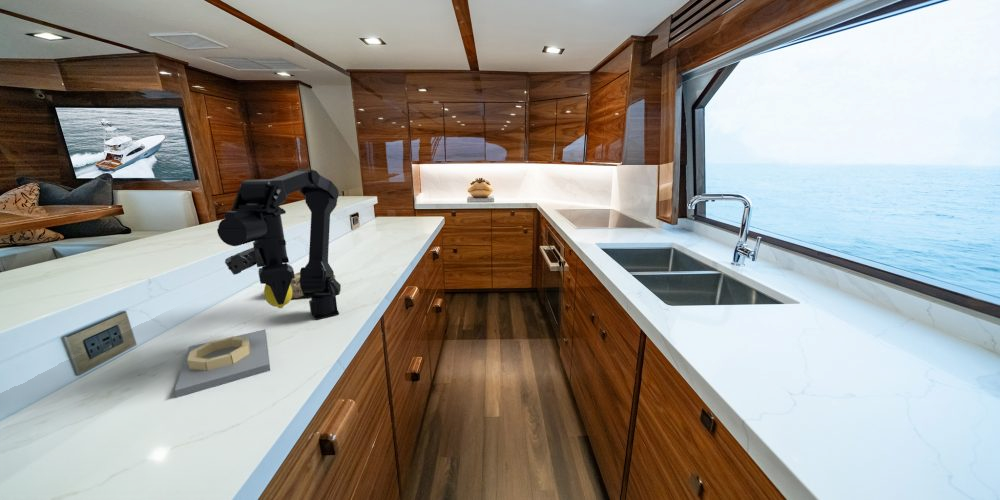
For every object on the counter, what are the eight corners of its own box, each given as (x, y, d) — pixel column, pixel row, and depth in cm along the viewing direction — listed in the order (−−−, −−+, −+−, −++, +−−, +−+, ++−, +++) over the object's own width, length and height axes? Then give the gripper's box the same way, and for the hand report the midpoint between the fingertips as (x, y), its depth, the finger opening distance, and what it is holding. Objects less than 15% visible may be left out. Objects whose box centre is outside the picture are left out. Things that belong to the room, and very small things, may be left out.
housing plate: (266, 334, 88) (264, 322, 88) (270, 370, 73) (267, 355, 72) (190, 352, 80) (187, 339, 79) (176, 397, 64) (172, 381, 63)
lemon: (281, 313, 77) (276, 281, 75) (261, 311, 78) (255, 279, 76) (299, 304, 83) (295, 273, 81) (280, 302, 84) (275, 272, 82)
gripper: (225, 234, 79) (237, 296, 82) (221, 248, 64) (236, 323, 68) (281, 229, 85) (290, 286, 89) (289, 241, 71) (299, 309, 74)
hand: (279, 300), depth 80 cm, fingers closed on lemon, 5 cm apart
